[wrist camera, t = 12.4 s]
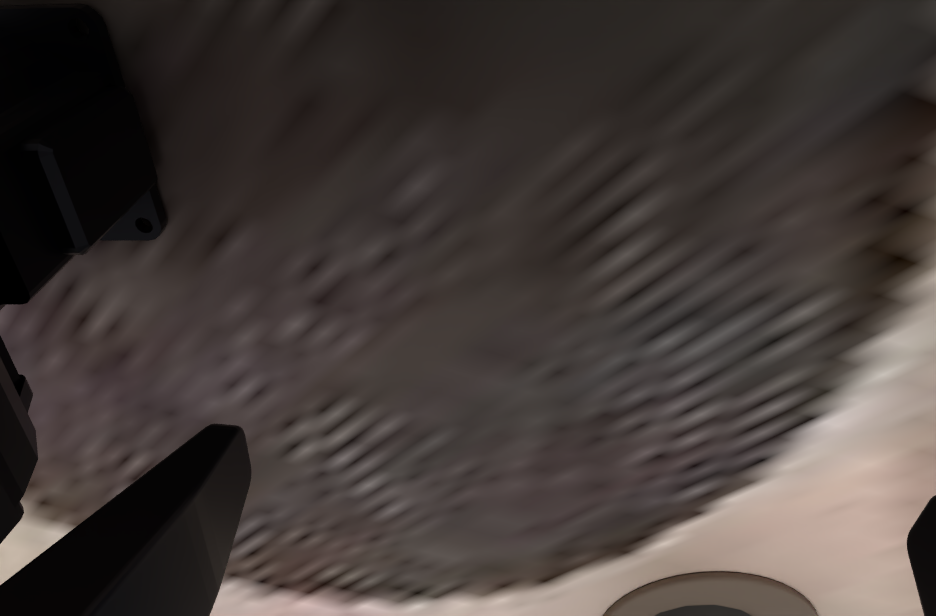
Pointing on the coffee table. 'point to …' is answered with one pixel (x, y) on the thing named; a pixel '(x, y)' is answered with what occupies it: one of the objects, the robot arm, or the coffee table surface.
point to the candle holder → (703, 611)
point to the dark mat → (714, 596)
